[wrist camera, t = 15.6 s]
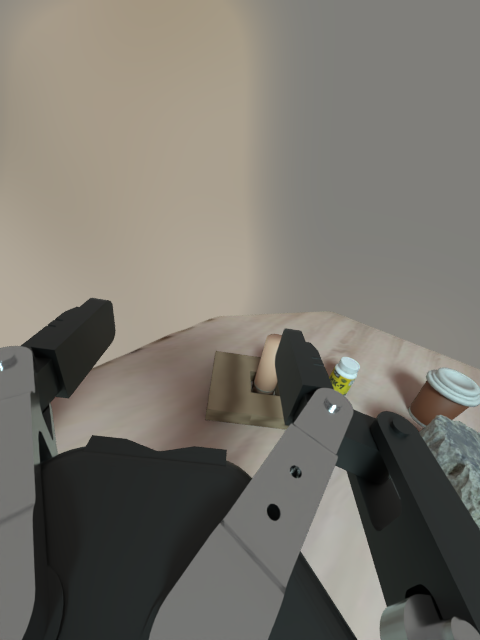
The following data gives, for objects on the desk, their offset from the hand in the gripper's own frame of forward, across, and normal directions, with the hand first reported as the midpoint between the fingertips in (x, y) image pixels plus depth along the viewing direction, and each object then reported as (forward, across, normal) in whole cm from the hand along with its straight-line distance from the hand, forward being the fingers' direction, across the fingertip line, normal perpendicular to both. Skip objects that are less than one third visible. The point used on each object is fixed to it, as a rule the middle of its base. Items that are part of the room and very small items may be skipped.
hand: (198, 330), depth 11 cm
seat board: (+26, -12, +32) cm, 43 cm away
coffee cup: (+25, -49, +32) cm, 64 cm away
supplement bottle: (+30, -30, +32) cm, 53 cm away
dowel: (+26, -12, +32) cm, 43 cm away
